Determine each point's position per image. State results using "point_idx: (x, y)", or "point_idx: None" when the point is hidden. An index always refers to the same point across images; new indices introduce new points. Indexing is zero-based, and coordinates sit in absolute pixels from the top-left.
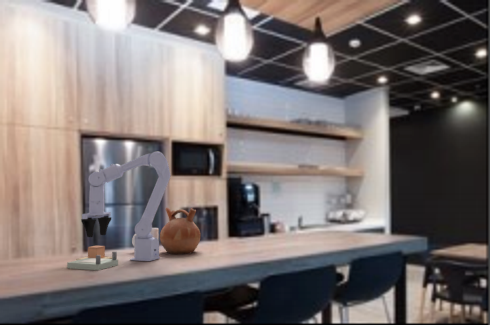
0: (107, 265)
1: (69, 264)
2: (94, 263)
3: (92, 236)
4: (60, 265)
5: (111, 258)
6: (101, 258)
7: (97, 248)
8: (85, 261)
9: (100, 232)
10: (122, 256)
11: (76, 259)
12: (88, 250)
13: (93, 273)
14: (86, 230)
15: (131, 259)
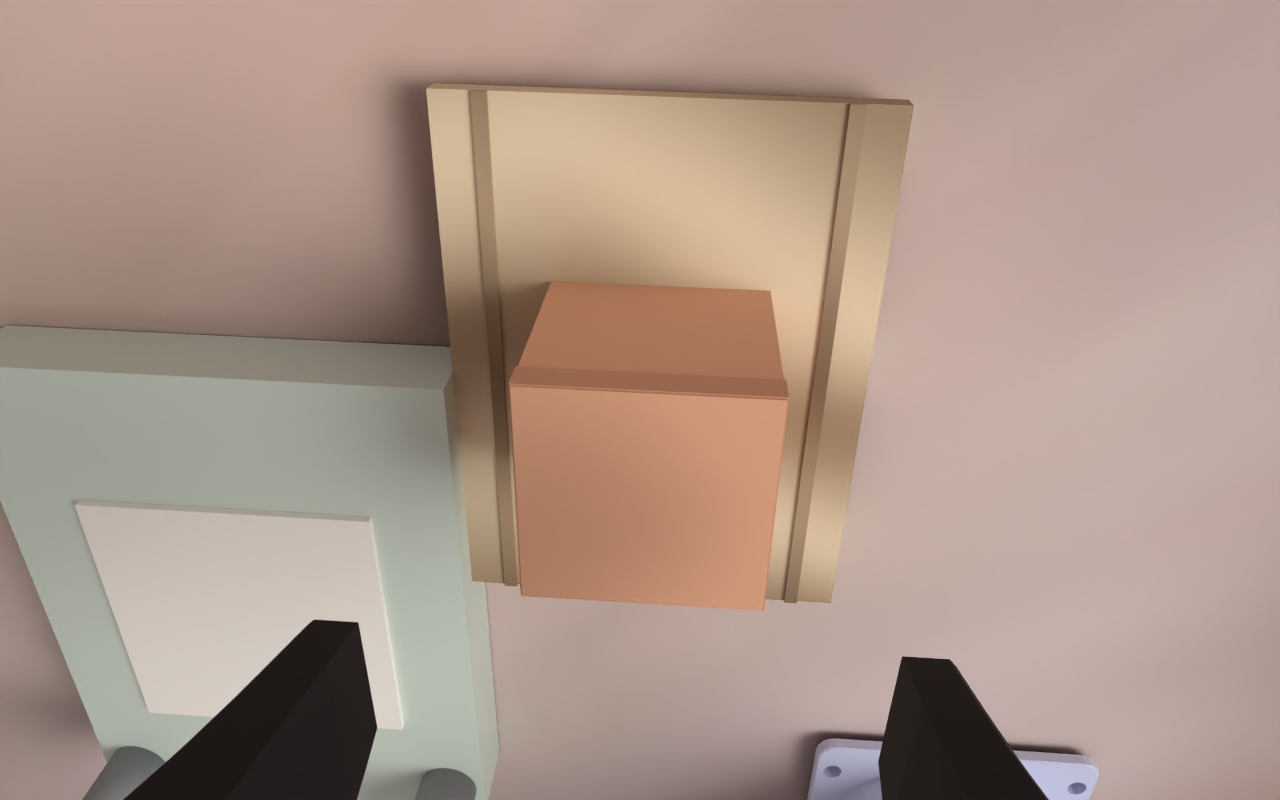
0: None
1: None
2: (135, 720)
3: (365, 742)
4: (75, 23)
5: None
6: None
7: (530, 586)
8: (134, 580)
9: (918, 721)
10: (1199, 486)
11: (428, 95)
12: (526, 362)
13: (23, 760)
14: (182, 781)
15: (814, 768)
